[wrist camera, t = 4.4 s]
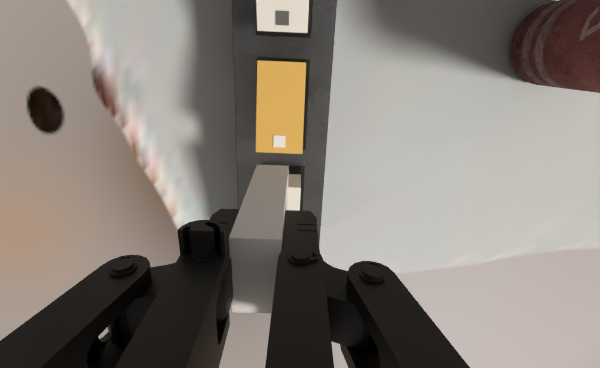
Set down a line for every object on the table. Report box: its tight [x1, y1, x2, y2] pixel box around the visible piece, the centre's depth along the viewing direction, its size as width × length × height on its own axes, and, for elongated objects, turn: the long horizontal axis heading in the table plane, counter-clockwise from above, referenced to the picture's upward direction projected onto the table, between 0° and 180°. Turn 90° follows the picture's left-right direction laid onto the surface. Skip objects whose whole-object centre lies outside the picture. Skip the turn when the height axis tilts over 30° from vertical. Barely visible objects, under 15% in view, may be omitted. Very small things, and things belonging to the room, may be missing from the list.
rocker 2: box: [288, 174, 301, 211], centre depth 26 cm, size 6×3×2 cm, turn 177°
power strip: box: [232, 0, 337, 241], centre depth 25 cm, size 31×7×4 cm, turn 178°
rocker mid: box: [256, 60, 306, 154], centre depth 23 cm, size 6×3×2 cm, turn 178°
